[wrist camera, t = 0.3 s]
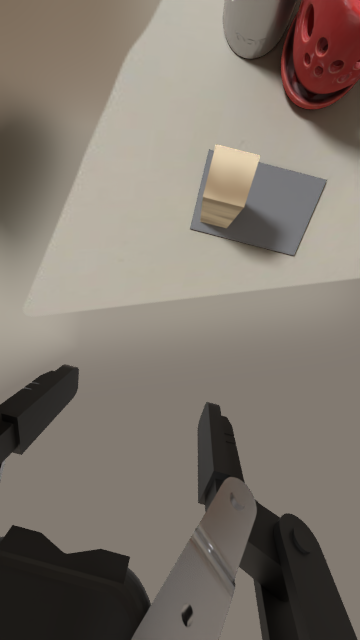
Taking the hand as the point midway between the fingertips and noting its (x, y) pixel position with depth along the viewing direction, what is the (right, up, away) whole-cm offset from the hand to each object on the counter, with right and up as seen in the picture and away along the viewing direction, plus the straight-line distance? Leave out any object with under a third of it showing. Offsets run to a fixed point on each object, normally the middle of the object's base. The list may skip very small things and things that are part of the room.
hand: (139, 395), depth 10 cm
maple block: (+9, +24, +20) cm, 33 cm away
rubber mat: (+16, +25, +20) cm, 36 cm away
